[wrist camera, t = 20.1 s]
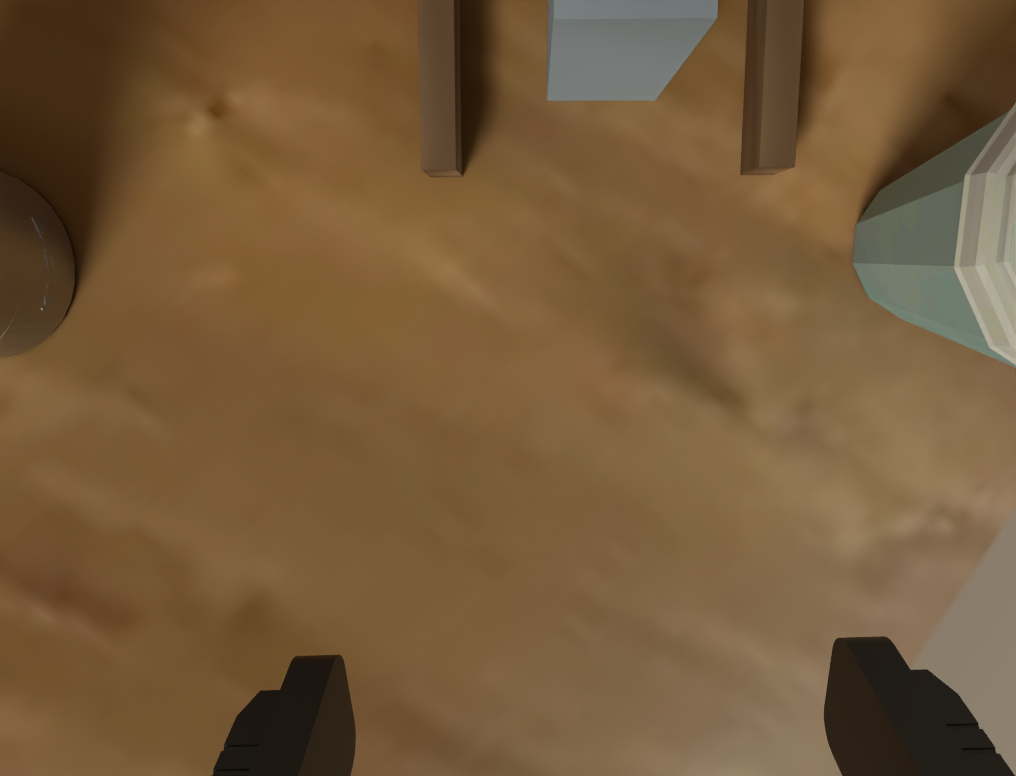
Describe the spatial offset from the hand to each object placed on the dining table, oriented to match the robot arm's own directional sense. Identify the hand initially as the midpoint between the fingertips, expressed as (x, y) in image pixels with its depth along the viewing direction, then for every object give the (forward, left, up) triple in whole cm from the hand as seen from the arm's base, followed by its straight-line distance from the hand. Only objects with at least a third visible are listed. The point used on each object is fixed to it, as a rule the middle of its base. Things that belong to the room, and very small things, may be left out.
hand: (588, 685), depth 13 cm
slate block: (+2, +17, -25) cm, 31 cm away
